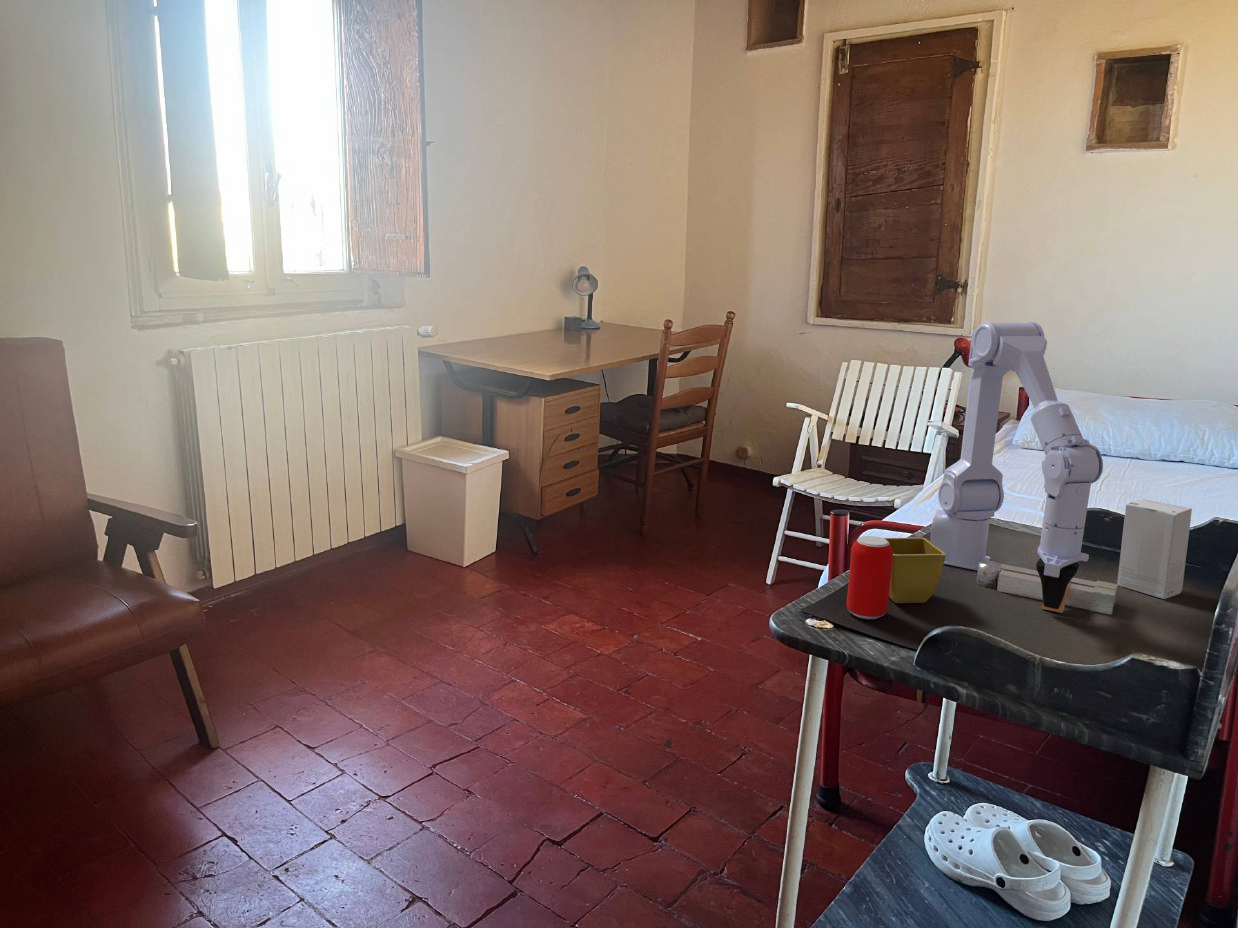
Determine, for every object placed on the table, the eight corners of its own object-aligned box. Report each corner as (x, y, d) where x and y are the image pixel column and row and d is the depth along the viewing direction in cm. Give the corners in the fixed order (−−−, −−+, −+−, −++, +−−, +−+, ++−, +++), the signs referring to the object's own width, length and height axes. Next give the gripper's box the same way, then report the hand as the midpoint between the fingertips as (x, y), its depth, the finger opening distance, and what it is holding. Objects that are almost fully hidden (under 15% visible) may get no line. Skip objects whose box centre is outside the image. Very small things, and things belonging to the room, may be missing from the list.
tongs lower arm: (996, 591, 151) (998, 573, 151) (999, 586, 154) (1002, 568, 153) (1111, 614, 143) (1114, 595, 142) (1113, 609, 145) (1116, 590, 144)
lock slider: (1041, 608, 144) (1045, 584, 143) (1049, 592, 151) (1052, 569, 150) (1062, 612, 142) (1066, 589, 141) (1069, 596, 149) (1072, 573, 148)
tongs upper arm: (974, 584, 154) (976, 564, 153) (980, 575, 158) (982, 556, 157) (1112, 612, 144) (1115, 591, 143) (1114, 602, 147) (1118, 582, 147)
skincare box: (1181, 594, 152) (1197, 508, 148) (1163, 601, 149) (1178, 514, 145) (1131, 578, 159) (1144, 496, 155) (1112, 584, 155) (1125, 501, 152)
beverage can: (840, 615, 140) (846, 541, 137) (854, 603, 145) (861, 531, 142) (878, 625, 137) (886, 549, 134) (892, 612, 142) (899, 539, 139)
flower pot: (868, 588, 152) (872, 536, 149) (919, 587, 152) (924, 536, 150) (887, 609, 143) (893, 555, 141) (941, 608, 144) (947, 554, 142)
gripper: (1087, 540, 130) (1073, 628, 134) (1098, 516, 142) (1085, 597, 146) (1034, 531, 134) (1022, 617, 137) (1049, 508, 146) (1037, 588, 149)
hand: (1051, 606), depth 142 cm, fingers closed
